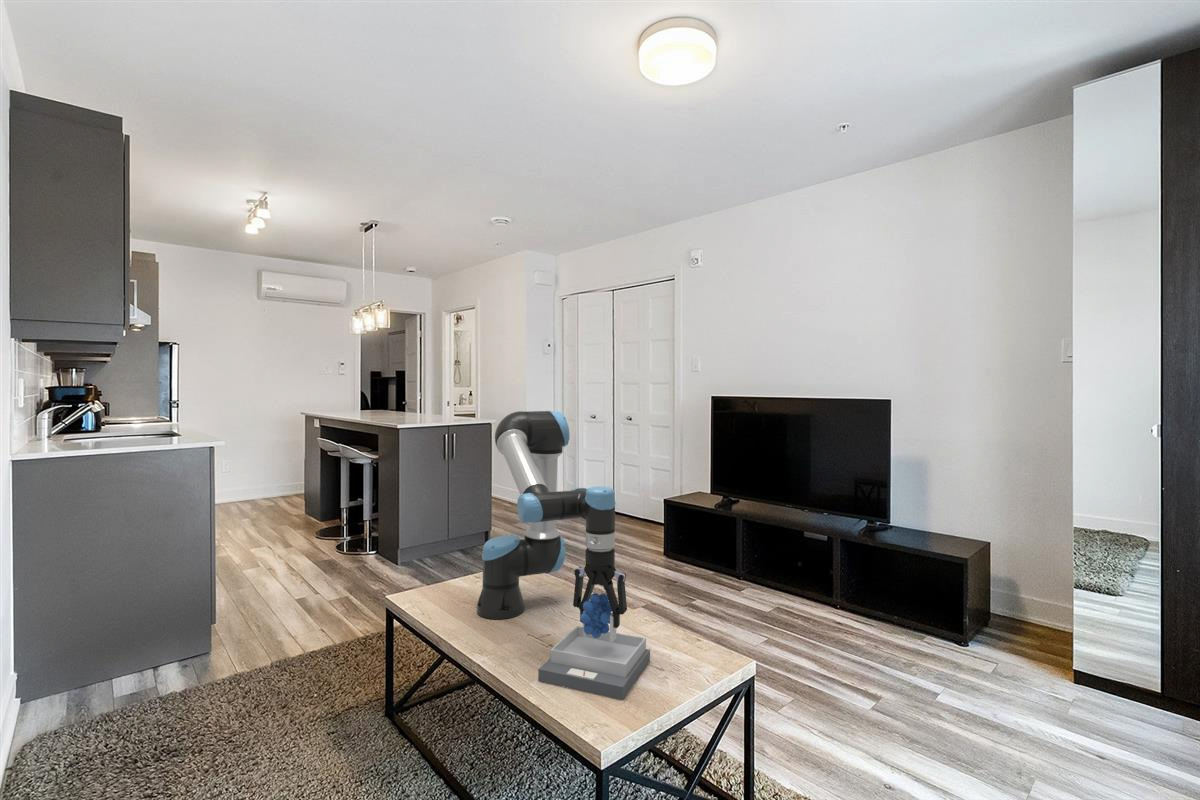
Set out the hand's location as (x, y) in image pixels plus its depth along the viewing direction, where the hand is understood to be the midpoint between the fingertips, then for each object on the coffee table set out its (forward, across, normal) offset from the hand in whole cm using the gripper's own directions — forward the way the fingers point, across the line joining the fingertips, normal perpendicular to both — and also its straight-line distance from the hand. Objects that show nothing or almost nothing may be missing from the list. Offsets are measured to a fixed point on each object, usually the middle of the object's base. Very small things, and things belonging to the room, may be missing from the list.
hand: (599, 637), depth 148 cm
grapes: (+1, 0, 0) cm, 1 cm away
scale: (+8, 0, -2) cm, 8 cm away
